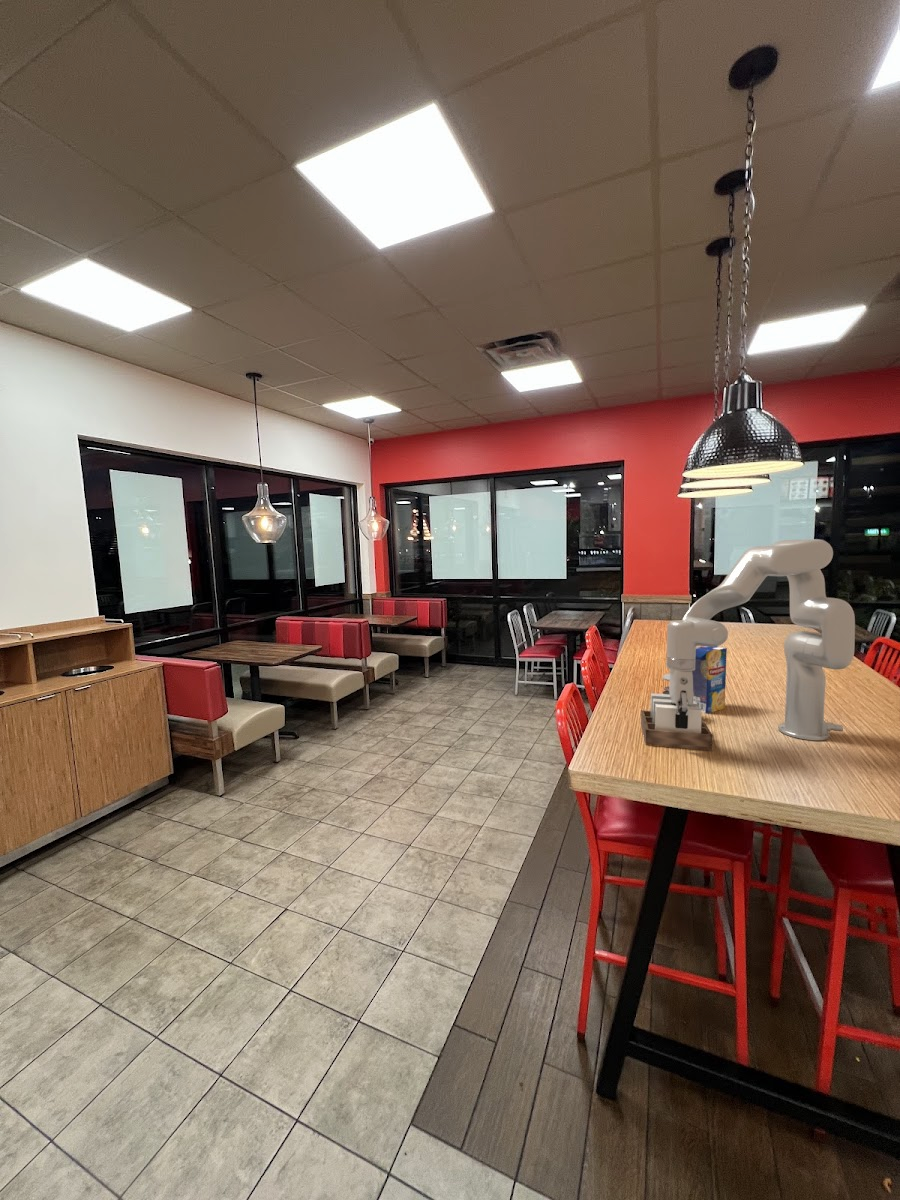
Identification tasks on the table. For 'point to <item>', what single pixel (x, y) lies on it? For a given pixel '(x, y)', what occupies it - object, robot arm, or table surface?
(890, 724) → the table surface
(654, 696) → the racked plate far
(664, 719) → the plate
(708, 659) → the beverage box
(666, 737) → the rack
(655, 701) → the racked plate mid
